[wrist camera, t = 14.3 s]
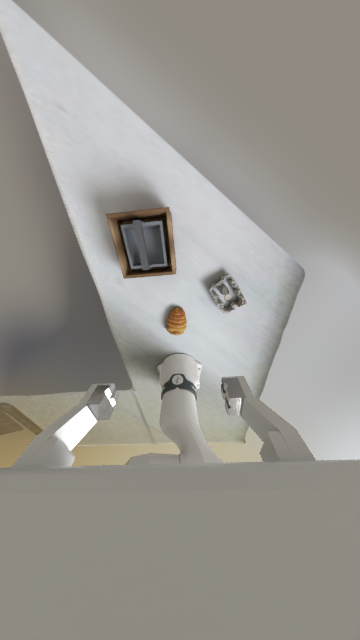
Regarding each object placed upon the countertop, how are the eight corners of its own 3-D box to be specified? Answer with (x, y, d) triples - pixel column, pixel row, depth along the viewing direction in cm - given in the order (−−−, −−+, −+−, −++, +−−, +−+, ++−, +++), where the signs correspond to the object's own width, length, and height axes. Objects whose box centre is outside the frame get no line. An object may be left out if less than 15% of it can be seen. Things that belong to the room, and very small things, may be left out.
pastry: (168, 305, 44) (167, 310, 41) (188, 307, 45) (189, 312, 41) (166, 329, 49) (165, 335, 46) (185, 330, 49) (185, 337, 46)
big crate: (176, 269, 39) (175, 274, 33) (132, 273, 39) (123, 278, 33) (171, 214, 33) (168, 207, 26) (120, 219, 33) (106, 214, 27)
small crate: (169, 263, 37) (165, 268, 30) (137, 266, 38) (125, 271, 30) (164, 223, 33) (159, 217, 26) (128, 227, 33) (112, 222, 26)
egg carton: (242, 299, 43) (248, 304, 40) (221, 311, 45) (224, 317, 42) (228, 270, 39) (233, 273, 35) (205, 285, 41) (208, 289, 38)
